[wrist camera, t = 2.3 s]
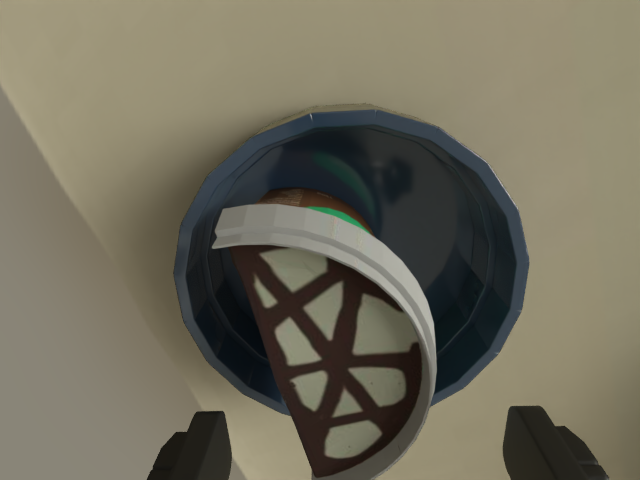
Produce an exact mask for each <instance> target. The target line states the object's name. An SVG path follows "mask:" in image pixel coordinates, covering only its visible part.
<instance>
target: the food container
mask: <svg viewBox="0 0 640 480" xmlns="http://www.w3.org/2000/svg"><path fill="white" fill-rule="evenodd" d="M215 233H216V235H217V239H216V241H215V242H214V244H213V246H212V248H213V249H216V248H223V247H228V249H229V251H230V254H231V258H232V263H233V264H234V266H235V268H236V269H237V271H238V274H239V276H240V278H241V281H242V283H243V286H244V289H245V291H246V294H247V297H248V300H249V303H250V305H251V308H252V311H253V314H254V317H255V320H256V323H257V326H258V329H259V332H260V334H261V337H262V341H263V344H264V347H265V350H266V354H267V357H268V360H269V363H270V366H271V369H272V372H273V376H274V379H275V382H276V384H277V386H278V389H279V391H280V393H281V395H282V397H283V400H284V402H285V404H286V406H287V408H288V410H289V412H290V415H291V417H292V419H293V422H294V424H295V426H296V429H297V432H298V434H299V437H300V439H301V442H302V445H303V447H304V450H305V453H306V455H307V458H308V461H309V463H310V466H311V469H312V480H374V479H375V478H377V477H378V476H380V475H381V474H383V473H384V472H386V471H387V470H388V469H390V468H391V467H392V466H393V465H394V464H395V463H396V462H397V461H398V460H399V459H400V458H402V457H403V455H404V454H405V453H406V452H407V450H408V449H409V448H410V447H411V445H412V444H413V443H414V442H415V440H416V438H417V436H418V435H419V433H420V431H421V429H422V427H423V425H424V423H425V420H426V417H427V414H428V411H429V408H430V404H431V400H432V397H433V394H434V390H435V382H436V373H437V363H436V343H435V332H434V322H433V319H432V315H431V312H430V308H429V305H428V301H427V299H426V297H425V295H424V294H423V292H422V290H421V288H420V286H419V284H418V282H417V280H416V279H415V277H414V276H413V275H412V273H411V272H410V271H409V269H408V268H407V267H406V265H405V264H404V263H403V261H402V260H401V259H399V258H398V257H397V256H396V255H395V254H394V253H393V252H392V251H391V250H390V249H389V248H388V247H387V246H386V245H384V244H383V243H382V242H381V241H379V240H378V239H376V238H375V236H374V234H373V232H372V230H371V228H370V226H369V225H368V223H367V222H366V221H365V219H364V218H363V217H362V216H361V214H359V213H358V212H357V211H356V210H355V209H354V208H353V207H352V206H351V205H349V204H348V203H346V202H344V201H343V200H341V199H340V198H338V197H336V196H333V195H331V194H329V193H327V192H323V191H319V190H316V189H311V188H303V187H284V188H279V189H273V190H269V191H268V192H267V193H266V194H265V195H264V196H263V197H262V198H260V199H259V200H258V201H257V202H256V203H255V204H254V205H244V206H238V207H232V208H226V209H223V210H222V213H221V216H220V218H219V221H218V224H217V226H216V229H215Z"/></svg>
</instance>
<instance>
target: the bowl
mask: <svg viewBox="0 0 640 480" xmlns="http://www.w3.org/2000/svg"><path fill="white" fill-rule="evenodd" d="M284 187H303V188H311V189H316V190H319V191H323V192H327V193H329V194H331V195H333V196H336V197H338V198H340V199H341V200H343V201H344V202H346V203H348V204H349V205H351V206H352V207H353V208H354V209H355V210H356V211H357V212H358V213H359V214H361V216H362V217H363V218H364V219H365V221H366V222H367V223H368V225H369V226H370V228H371V230H372V232H373V234H374V236H375V238H376V239H378V240H379V241H381V242H382V243H383V244H384V245H386V246H387V247H388V248H389V249H390V250H391V251H392V252H393V253H394V254H395V255H396V256H397V257H398V258H399V259H401V260H402V261H403V263H404V264H405V265H406V267H407V268H408V269H409V271H410V272H411V273H412V275H413V276H414V277H415V279H416V280H417V282H418V284H419V286H420V288H421V290H422V292H423V294H424V295H425V297H426V299H427V301H428V305H429V308H430V312H431V315H432V319H433V322H434V332H435V343H436V363H437V373H436V382H435V390H434V394H433V397H432V400H431V404H430V407H431V406H433V405H435V404H436V403H438V402H440V401H442V400H443V399H445V398H447V397H449V396H451V395H452V394H454V393H456V392H458V391H460V390H461V389H463V388H464V387H466V386H467V385H468V384H469V383H470V382H471V381H472V380H473V379H474V378H475V377H476V376H477V375H478V374H479V373H480V372H481V371H482V370H483V369H484V368H485V367H486V366H487V365H488V364H489V363H490V362H491V361H492V360H493V359H494V358H495V357H496V356H497V355H498V353H499V352H500V351H501V349H502V347H503V345H504V343H505V341H506V339H507V338H508V336H509V334H510V332H511V330H512V328H513V326H514V324H515V323H516V321H517V319H518V317H519V315H520V313H521V310H522V307H523V301H524V294H525V288H526V282H527V275H528V269H529V256H528V251H527V246H526V241H525V237H524V232H523V227H522V222H521V218H520V213H519V210H518V207H517V206H516V204H515V203H514V201H513V200H512V198H511V197H510V195H509V194H508V192H507V191H506V189H505V188H504V186H503V185H502V183H501V182H500V180H499V178H498V177H497V175H496V174H495V172H494V171H493V169H492V168H491V166H490V165H489V163H487V161H485V160H484V159H483V158H481V157H480V156H478V155H477V154H476V153H474V152H473V151H471V150H470V149H469V148H467V147H466V146H465V145H463V144H462V143H460V142H459V141H458V140H456V139H455V138H453V137H452V136H451V135H449V134H448V133H447V132H445V131H444V130H442V129H441V128H439V127H437V126H435V125H433V124H430V123H428V122H426V121H423V120H421V119H418V118H416V117H413V116H410V115H406V114H403V113H399V112H396V111H392V110H389V109H385V108H382V107H378V106H375V105H371V104H366V103H363V104H345V105H326V106H315V107H311V108H309V109H306V110H304V111H301V112H299V113H297V114H294V115H292V116H289V117H287V118H284V119H282V120H279V121H277V122H274V123H272V124H269V125H268V126H266V127H265V128H263V129H262V130H260V131H259V132H257V133H256V134H255V135H253V136H252V137H250V138H249V139H248V140H247V141H246V142H245V143H244V144H243V145H241V146H240V147H239V148H238V149H237V150H236V151H235V152H233V153H232V154H231V155H230V156H229V157H228V158H227V159H225V160H224V161H223V162H222V163H221V164H220V165H219V166H217V167H216V168H215V169H214V170H213V171H212V172H211V173H209V174H208V176H207V177H206V178H205V180H204V182H203V184H202V186H201V187H200V189H199V191H198V193H197V195H196V197H195V198H194V200H193V202H192V204H191V206H190V208H189V209H188V211H187V213H186V215H185V217H184V219H183V220H182V222H181V225H180V231H179V238H178V245H177V252H176V259H175V266H174V273H173V274H174V280H175V285H176V289H177V294H178V299H179V303H180V308H181V313H182V318H183V321H184V324H185V325H186V327H187V329H188V331H189V332H190V334H191V336H192V337H193V339H194V341H195V342H196V344H197V346H198V347H199V349H200V351H201V352H202V354H203V356H204V357H205V359H206V361H207V362H208V363H209V364H210V365H211V366H212V367H213V368H214V369H216V370H217V371H218V372H219V373H220V374H221V375H222V376H223V377H224V378H226V379H227V380H228V381H229V382H230V383H231V384H232V385H233V386H234V387H235V388H237V389H238V390H239V391H240V392H241V393H242V394H244V395H246V396H248V397H250V398H252V399H254V400H256V401H258V402H260V403H262V404H264V405H266V406H268V407H270V408H272V409H274V410H276V411H278V412H280V413H282V414H285V415H289V416H291V415H290V412H289V410H288V408H287V406H286V404H285V402H284V400H283V397H282V395H281V393H280V391H279V389H278V386H277V384H276V382H275V379H274V376H273V372H272V369H271V366H270V363H269V360H268V357H267V354H266V350H265V347H264V344H263V341H262V337H261V334H260V332H259V329H258V326H257V323H256V320H255V317H254V314H253V311H252V308H251V305H250V303H249V300H248V297H247V294H246V291H245V289H244V286H243V283H242V281H241V278H240V276H239V274H238V271H237V269H236V268H235V266H234V264H233V263H232V258H231V254H230V251H229V249H228V247H223V248H216V249H213V248H212V246H213V244H214V242H215V241H216V239H217V235H216V233H215V229H216V226H217V224H218V221H219V218H220V216H221V213H222V210H223V209H226V208H232V207H238V206H244V205H254V204H255V203H256V202H257V201H258V200H259V199H260V198H262V197H263V196H264V195H265V194H266V193H267V192H268V191H269V190H273V189H279V188H284Z"/></svg>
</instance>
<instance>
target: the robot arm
mask: <svg viewBox="0 0 640 480" xmlns="http://www.w3.org/2000/svg"><path fill="white" fill-rule="evenodd" d="M503 457H504V462H505V466H506V469H507V472H508V474H509V476H510V478H511V480H609V477H608V475H607V474H606V472H605V471H604V470H603V468H602V467H601V466H599V465H598V461H597V460H596V458H595V457H594V455H593V454H592V453H591V451H590V450H589V448H588V447H587V445H586V444H585V443H584V442H583V441H582V440H581V439H580V438H578V437H577V436H576V435H575V434H574V433H572V432H571V431H570V430H569V429H568V428H566V427H565V426H555V425H554V424H553V422H552V421H551V419H550V418H549V416H548V415H547V413H546V412H545V410H544V409H543V408H542V407H541V406H511V407H510V408H509V410H508V416H507V422H506V429H505V435H504V442H503ZM231 461H232V452H231V445H230V439H229V434H228V429H227V423H226V418H225V414H224V412H223V411H202V412H196V413H195V415H194V417H193V419H192V421H191V423H190V426H189V429H188V431H187V432H176V433H175V434H174V435H173V436H172V437H171V438H170V439H169V440H168V441H167V443H166V444H165V445H164V446H163V447H162V448H161V450H160V452H159V454H158V456H157V459H156V461H155V463H154V465H153V470H151V472H150V474H149V476H148V478H147V480H228V479H229V475H230V469H231Z"/></svg>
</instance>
